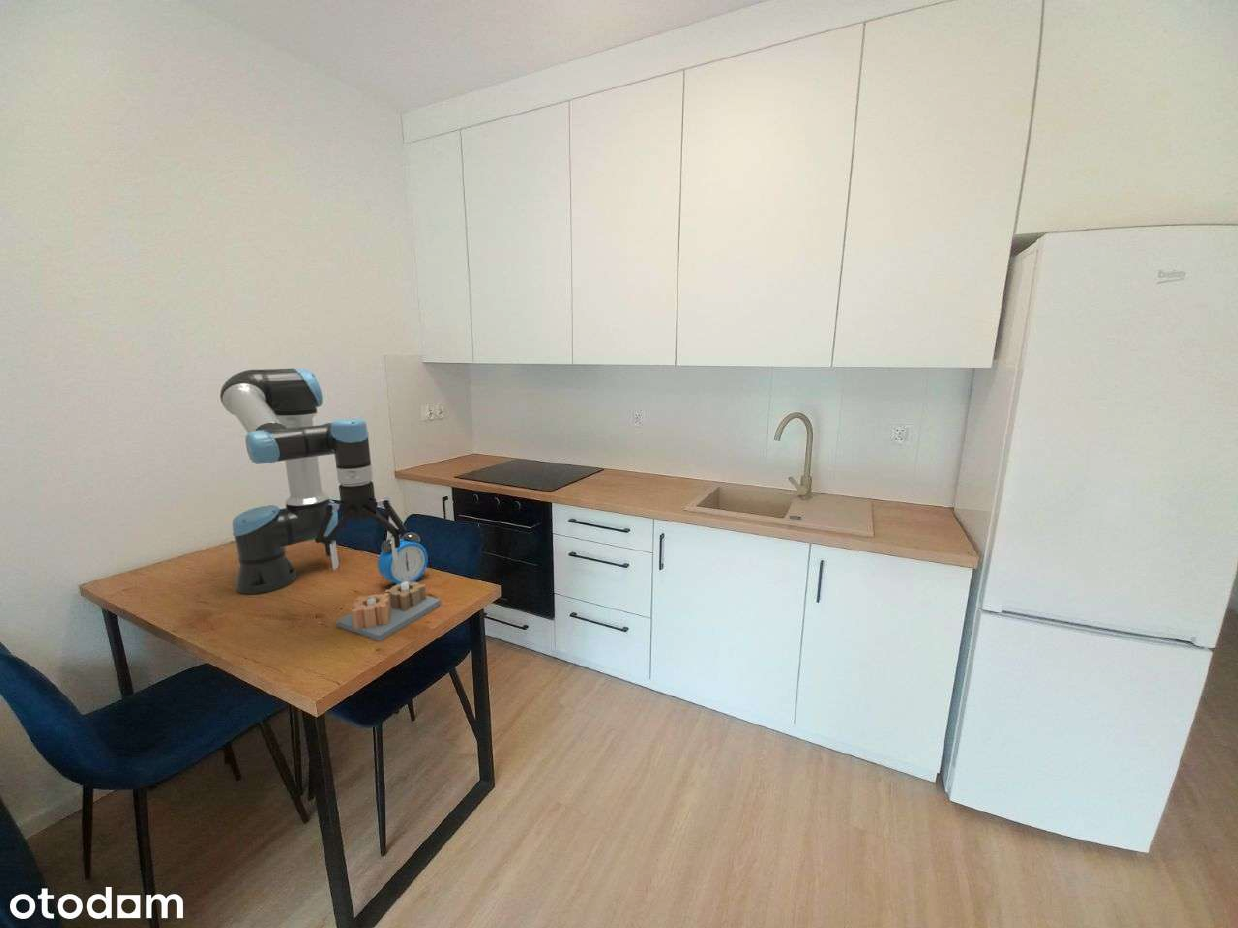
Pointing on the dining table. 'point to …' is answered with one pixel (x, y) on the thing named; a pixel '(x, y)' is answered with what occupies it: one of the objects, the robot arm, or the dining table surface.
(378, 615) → the loose gear
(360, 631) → the gear board
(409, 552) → the alarm clock
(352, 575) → the dining table surface
